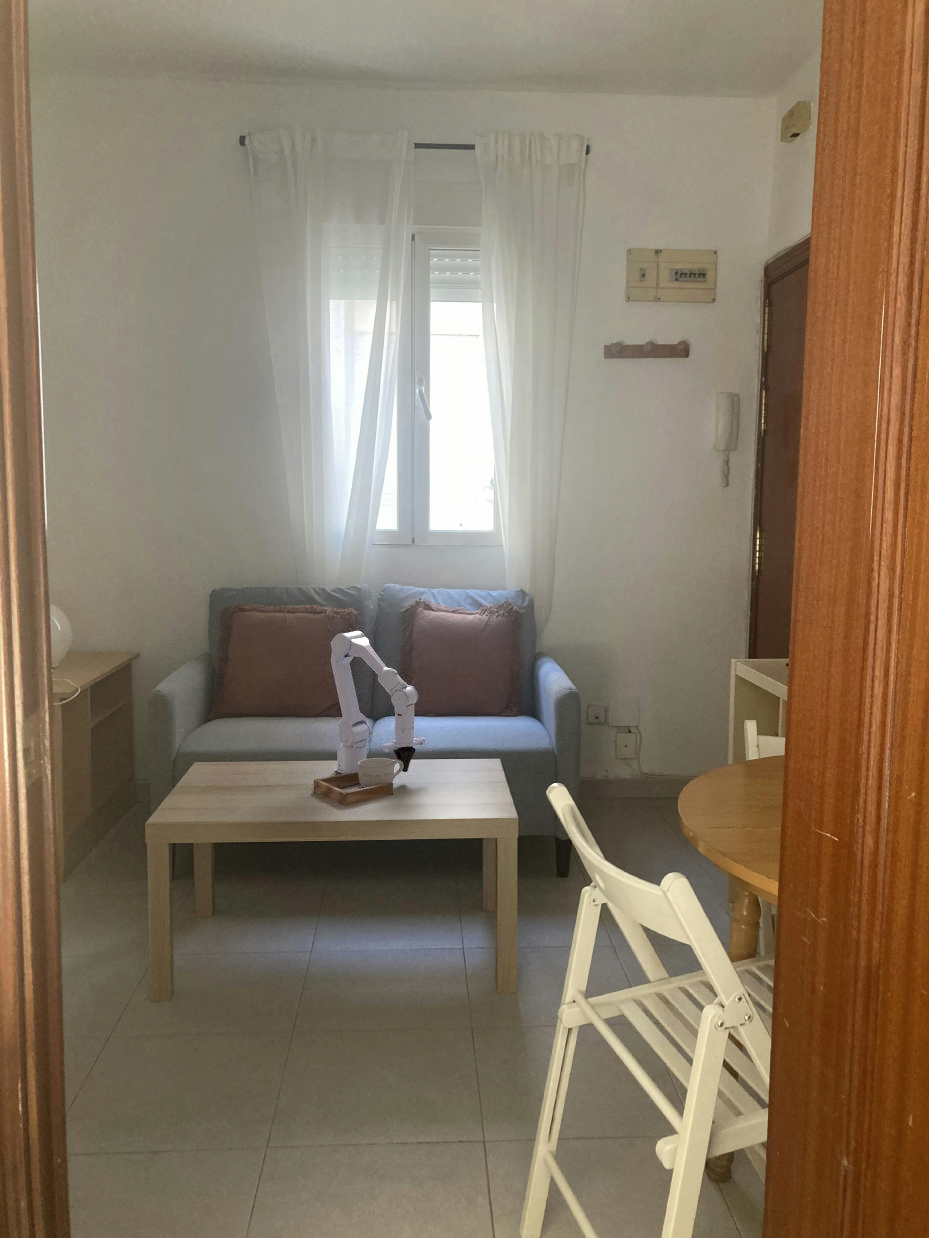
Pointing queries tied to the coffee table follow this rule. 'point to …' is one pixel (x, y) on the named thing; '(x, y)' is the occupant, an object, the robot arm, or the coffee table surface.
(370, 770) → the teacup
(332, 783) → the cradle
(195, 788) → the coffee table surface
